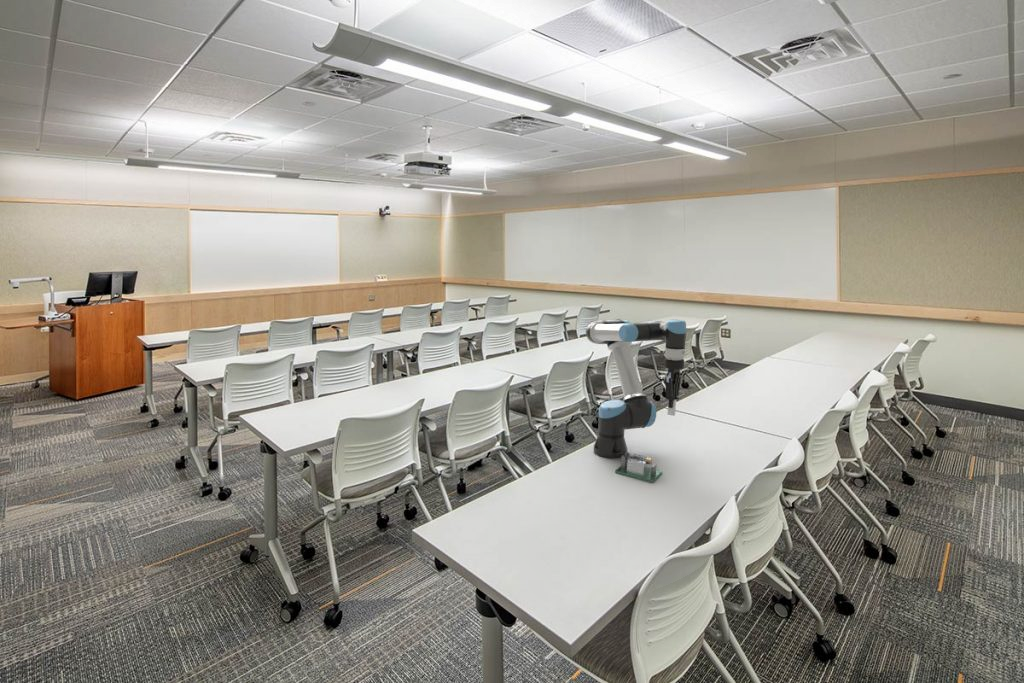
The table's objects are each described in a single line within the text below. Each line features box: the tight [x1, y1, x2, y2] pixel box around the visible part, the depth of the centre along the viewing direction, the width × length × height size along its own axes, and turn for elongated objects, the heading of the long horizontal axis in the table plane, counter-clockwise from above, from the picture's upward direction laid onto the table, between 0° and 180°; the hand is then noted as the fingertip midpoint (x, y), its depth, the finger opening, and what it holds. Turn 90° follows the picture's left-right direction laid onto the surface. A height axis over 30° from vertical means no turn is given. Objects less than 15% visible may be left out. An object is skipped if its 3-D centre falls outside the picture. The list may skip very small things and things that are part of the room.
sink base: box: [614, 452, 663, 484], centre depth 214 cm, size 16×11×6 cm
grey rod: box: [625, 455, 653, 465], centre depth 214 cm, size 12×2×2 cm, turn 55°
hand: (671, 414), depth 213 cm, fingers closed
